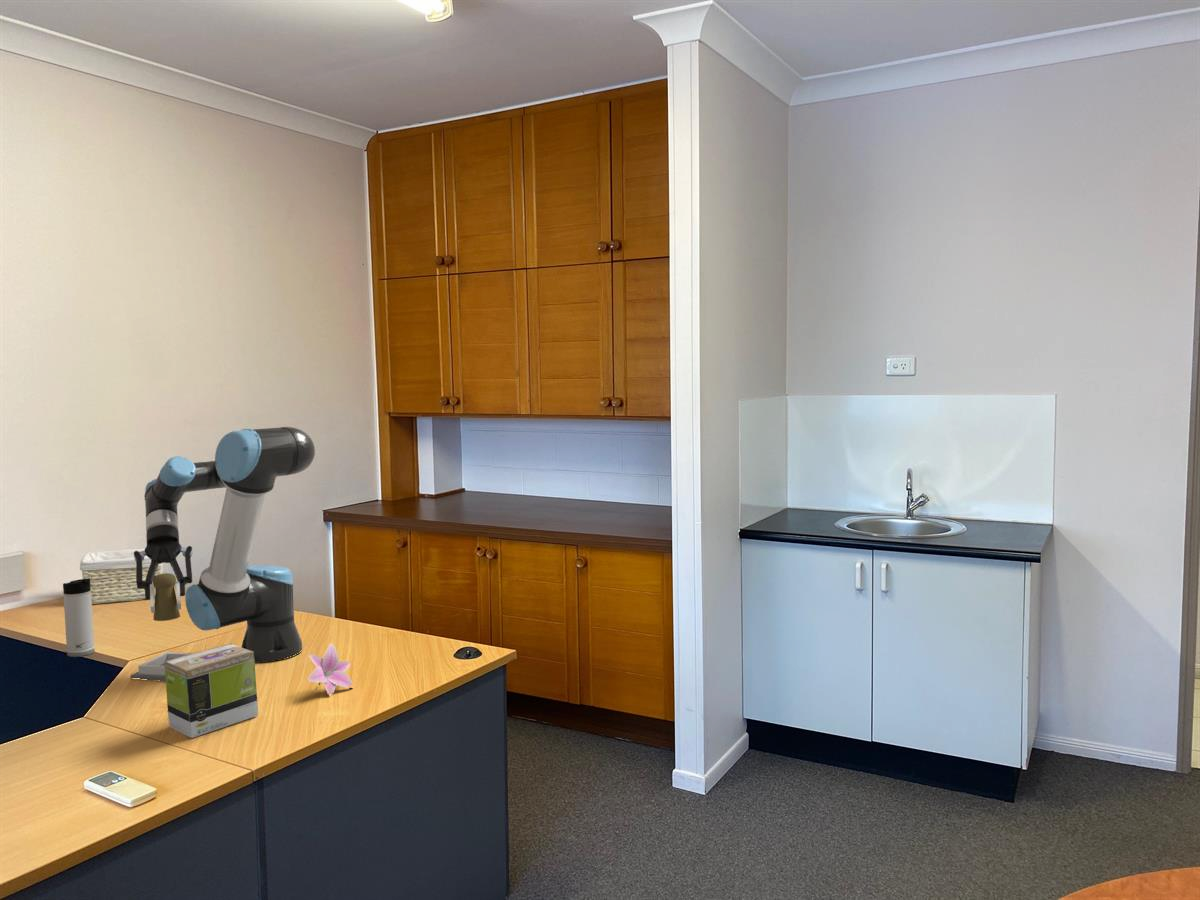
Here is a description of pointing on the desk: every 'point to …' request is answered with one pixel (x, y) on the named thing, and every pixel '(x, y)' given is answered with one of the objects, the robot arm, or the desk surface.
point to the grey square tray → (156, 666)
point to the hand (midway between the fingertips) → (165, 608)
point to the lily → (330, 670)
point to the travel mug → (78, 618)
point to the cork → (165, 597)
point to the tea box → (211, 689)
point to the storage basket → (115, 575)
